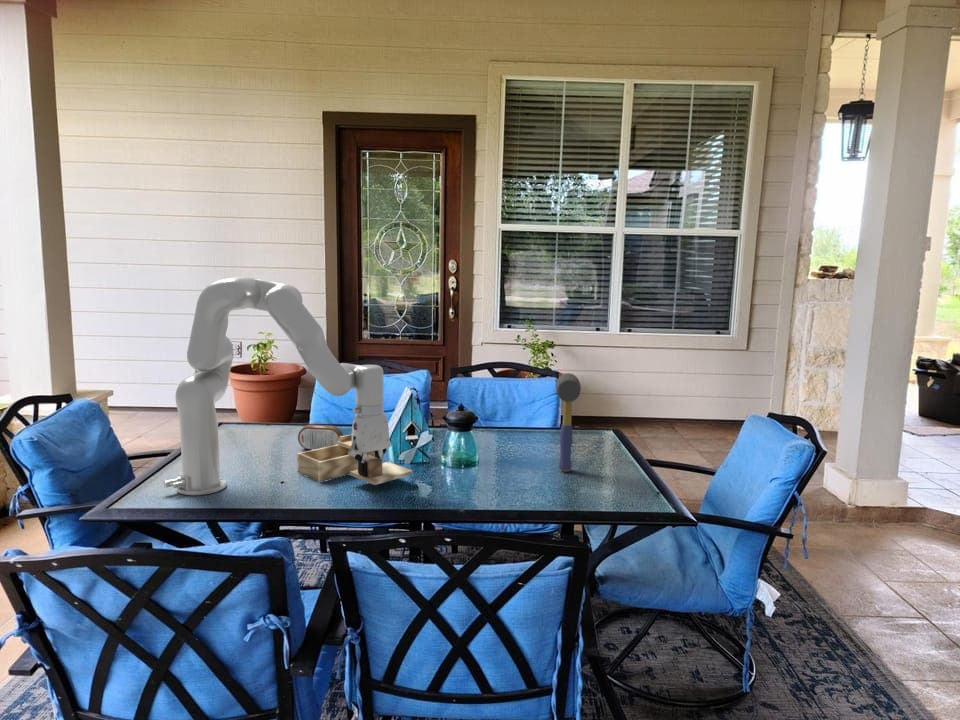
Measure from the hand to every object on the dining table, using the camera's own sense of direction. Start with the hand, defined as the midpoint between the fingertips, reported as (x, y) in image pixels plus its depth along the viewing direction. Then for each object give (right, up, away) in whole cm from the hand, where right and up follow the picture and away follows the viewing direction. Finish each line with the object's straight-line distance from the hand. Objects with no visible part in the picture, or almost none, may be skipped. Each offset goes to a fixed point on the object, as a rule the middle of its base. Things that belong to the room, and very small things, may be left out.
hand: (370, 473), depth 183 cm
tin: (-23, +1, +36) cm, 42 cm away
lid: (+3, -1, +3) cm, 4 cm away
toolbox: (-12, -2, +16) cm, 20 cm away
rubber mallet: (+57, -3, +19) cm, 60 cm away
